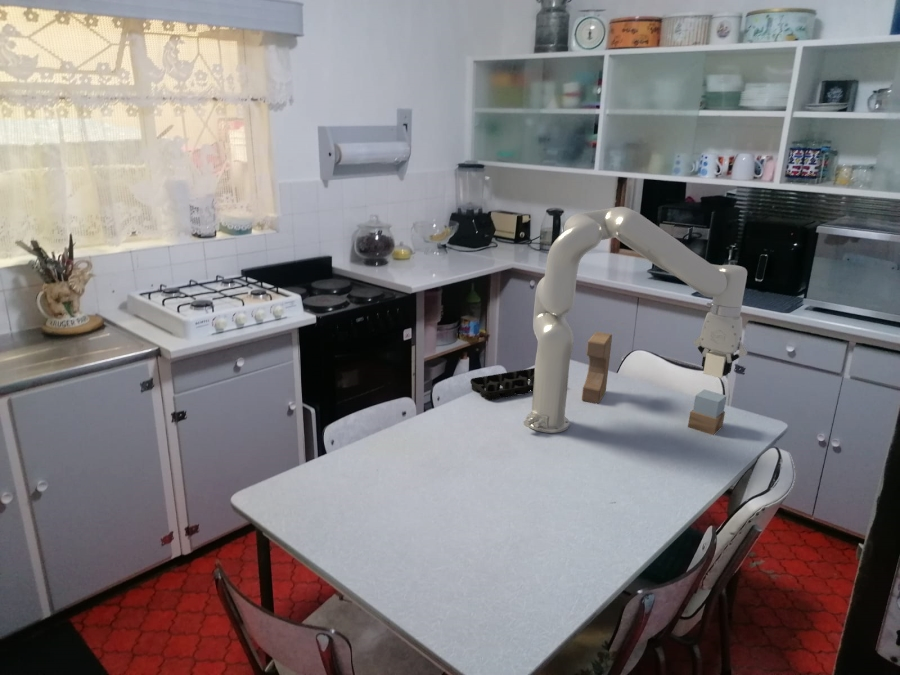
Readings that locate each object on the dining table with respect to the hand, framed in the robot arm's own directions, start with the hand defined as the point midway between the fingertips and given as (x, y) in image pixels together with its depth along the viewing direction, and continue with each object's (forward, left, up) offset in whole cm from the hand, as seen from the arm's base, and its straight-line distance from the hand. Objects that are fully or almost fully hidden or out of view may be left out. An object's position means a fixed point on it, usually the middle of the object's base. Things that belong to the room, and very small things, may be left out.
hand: (715, 371), depth 185 cm
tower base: (0, 0, -18) cm, 18 cm away
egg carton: (-15, +57, -18) cm, 62 cm away
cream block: (0, 0, -1) cm, 1 cm away
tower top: (0, 0, -13) cm, 13 cm away
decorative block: (-3, +35, -18) cm, 39 cm away
